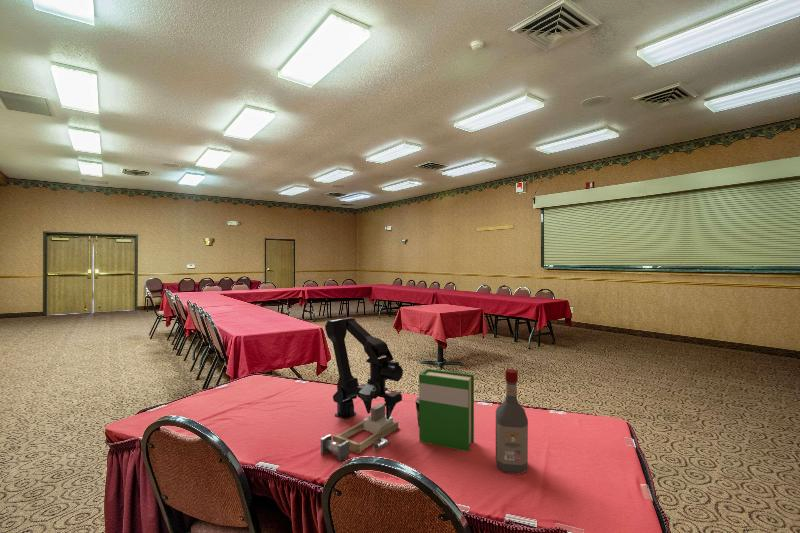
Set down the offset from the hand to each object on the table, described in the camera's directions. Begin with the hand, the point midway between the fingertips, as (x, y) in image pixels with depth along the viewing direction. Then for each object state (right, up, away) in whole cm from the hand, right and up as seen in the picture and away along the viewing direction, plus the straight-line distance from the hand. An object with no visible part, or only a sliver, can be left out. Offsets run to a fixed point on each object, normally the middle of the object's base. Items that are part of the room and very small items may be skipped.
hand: (378, 416), depth 148 cm
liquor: (+43, -6, -26) cm, 50 cm away
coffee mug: (+19, -5, +4) cm, 20 cm away
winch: (-13, -6, -18) cm, 23 cm away
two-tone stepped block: (0, -5, 0) cm, 5 cm away
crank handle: (+1, -5, -12) cm, 13 cm away
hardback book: (+25, -5, -10) cm, 27 cm away
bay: (-3, -5, -5) cm, 8 cm away
